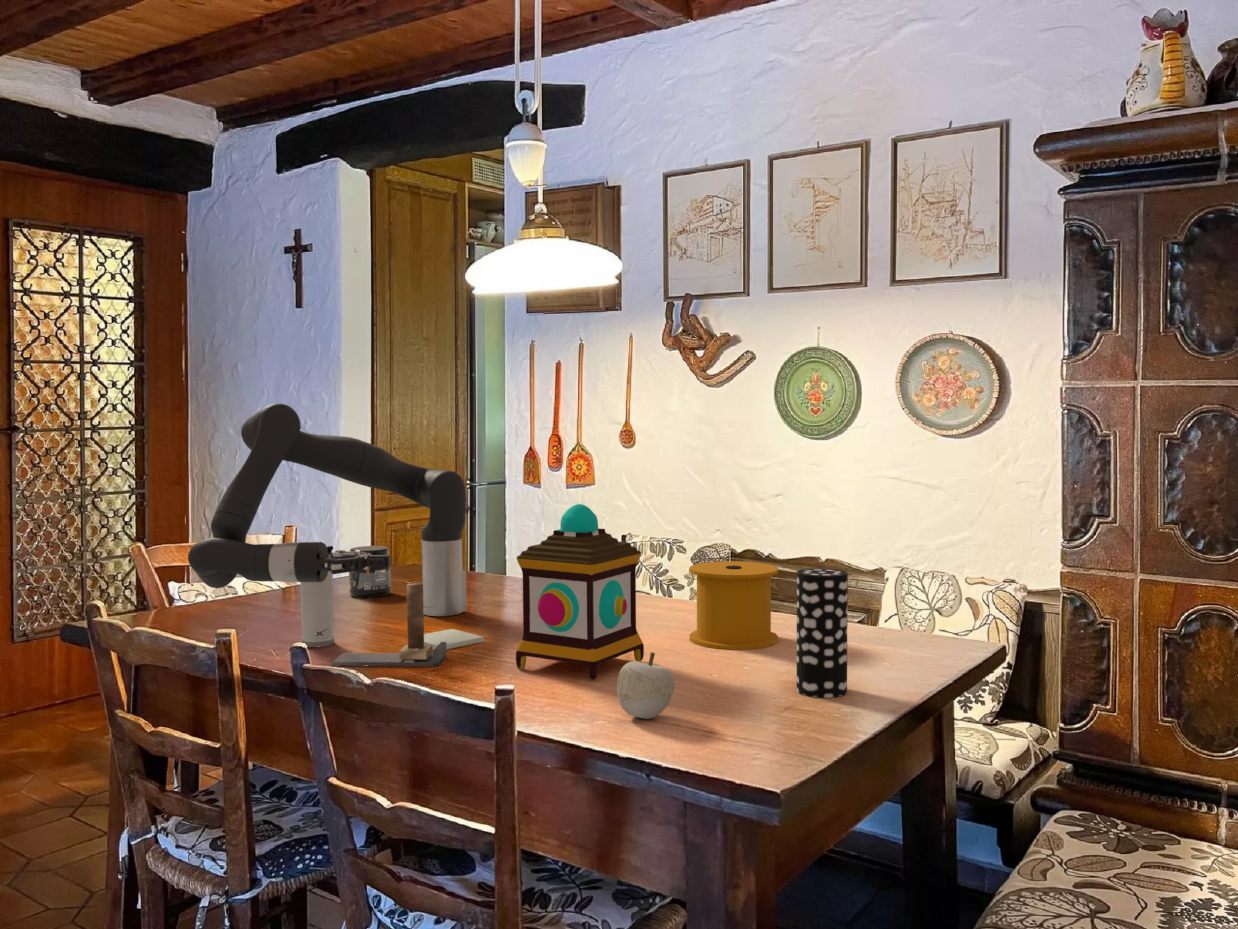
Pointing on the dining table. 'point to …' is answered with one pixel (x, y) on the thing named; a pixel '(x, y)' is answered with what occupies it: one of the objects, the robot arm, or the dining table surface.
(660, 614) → the dining table surface
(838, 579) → the spotted tube
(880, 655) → the dining table surface
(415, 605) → the post
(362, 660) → the rail
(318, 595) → the travel mug
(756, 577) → the spool
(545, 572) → the decorative lantern
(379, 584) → the supplement container
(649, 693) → the decorative object
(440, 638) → the pad
